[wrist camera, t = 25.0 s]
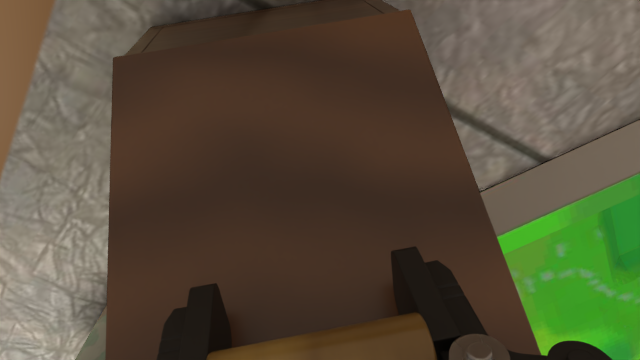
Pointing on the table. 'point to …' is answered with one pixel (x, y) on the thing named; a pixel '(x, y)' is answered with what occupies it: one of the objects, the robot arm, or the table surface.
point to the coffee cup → (95, 341)
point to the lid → (294, 195)
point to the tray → (577, 244)
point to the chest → (256, 23)
